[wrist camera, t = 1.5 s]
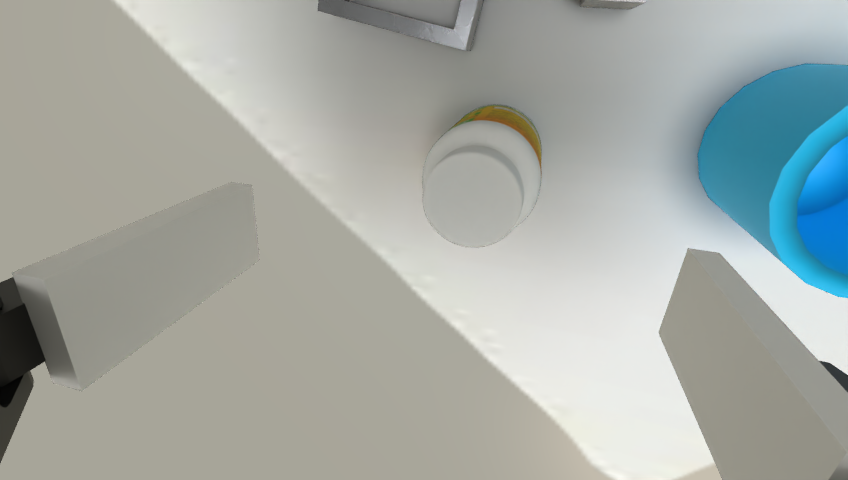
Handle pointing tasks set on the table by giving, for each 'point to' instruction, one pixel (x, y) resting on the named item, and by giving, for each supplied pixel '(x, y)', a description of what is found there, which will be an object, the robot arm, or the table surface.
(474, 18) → the collar
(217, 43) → the table surface
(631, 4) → the shaft
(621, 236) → the table surface
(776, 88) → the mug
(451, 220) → the supplement bottle
